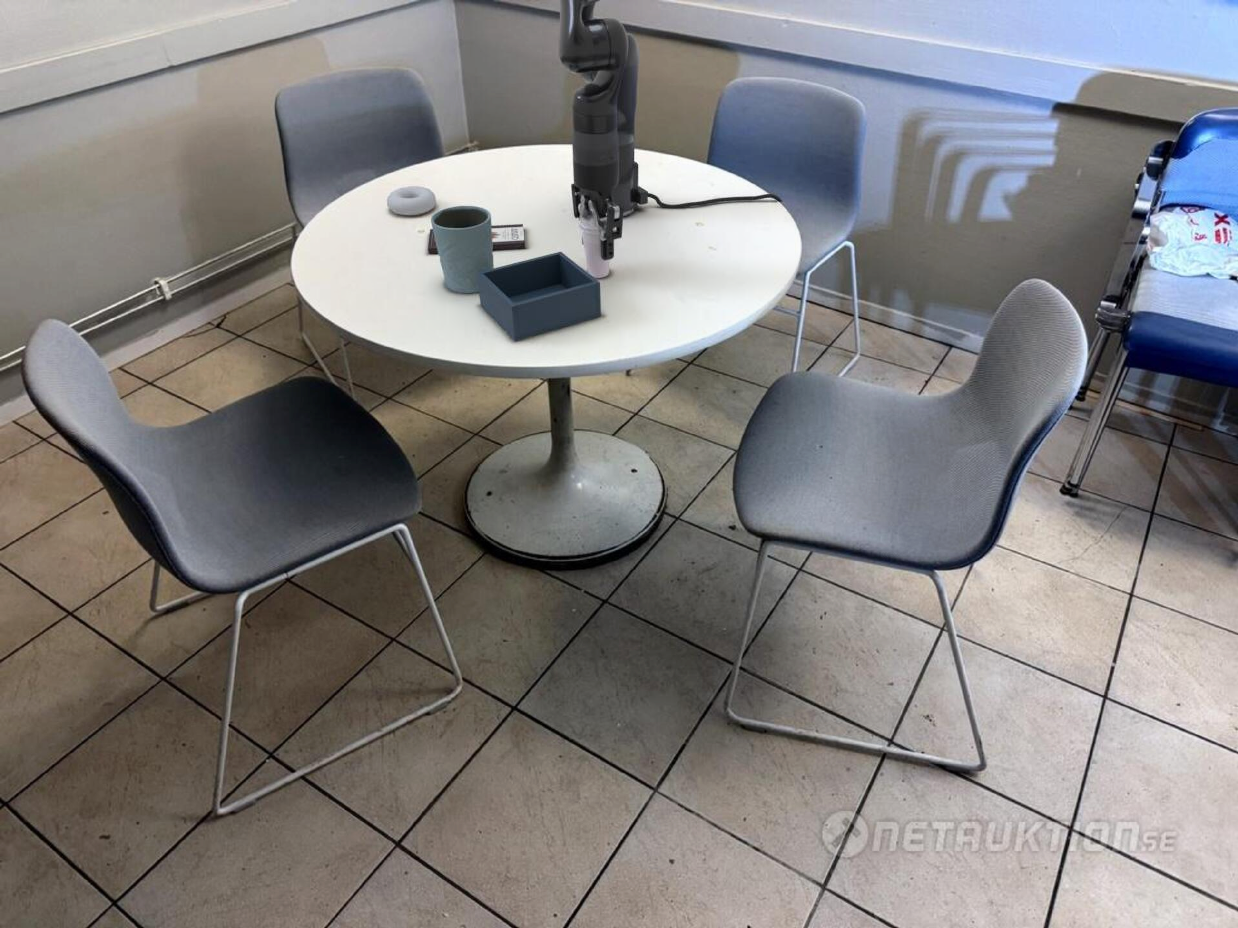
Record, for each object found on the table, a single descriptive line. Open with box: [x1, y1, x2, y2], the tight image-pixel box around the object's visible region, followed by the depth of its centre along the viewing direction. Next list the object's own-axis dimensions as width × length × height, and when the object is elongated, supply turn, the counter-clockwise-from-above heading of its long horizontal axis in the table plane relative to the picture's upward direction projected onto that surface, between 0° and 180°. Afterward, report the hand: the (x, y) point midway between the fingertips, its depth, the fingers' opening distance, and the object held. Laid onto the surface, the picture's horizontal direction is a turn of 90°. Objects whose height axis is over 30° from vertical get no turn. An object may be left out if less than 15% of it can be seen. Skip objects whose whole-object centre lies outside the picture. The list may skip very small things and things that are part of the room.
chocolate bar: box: [427, 223, 526, 254], centre depth 160 cm, size 9×1×18 cm
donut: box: [386, 185, 437, 216], centre depth 172 cm, size 10×3×10 cm
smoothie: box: [578, 215, 616, 279], centre depth 145 cm, size 6×6×14 cm
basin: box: [477, 251, 602, 342], centre depth 137 cm, size 16×14×6 cm
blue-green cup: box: [430, 205, 495, 294], centre depth 143 cm, size 10×10×12 cm
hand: (597, 251), depth 147 cm, fingers closed on smoothie, 6 cm apart
